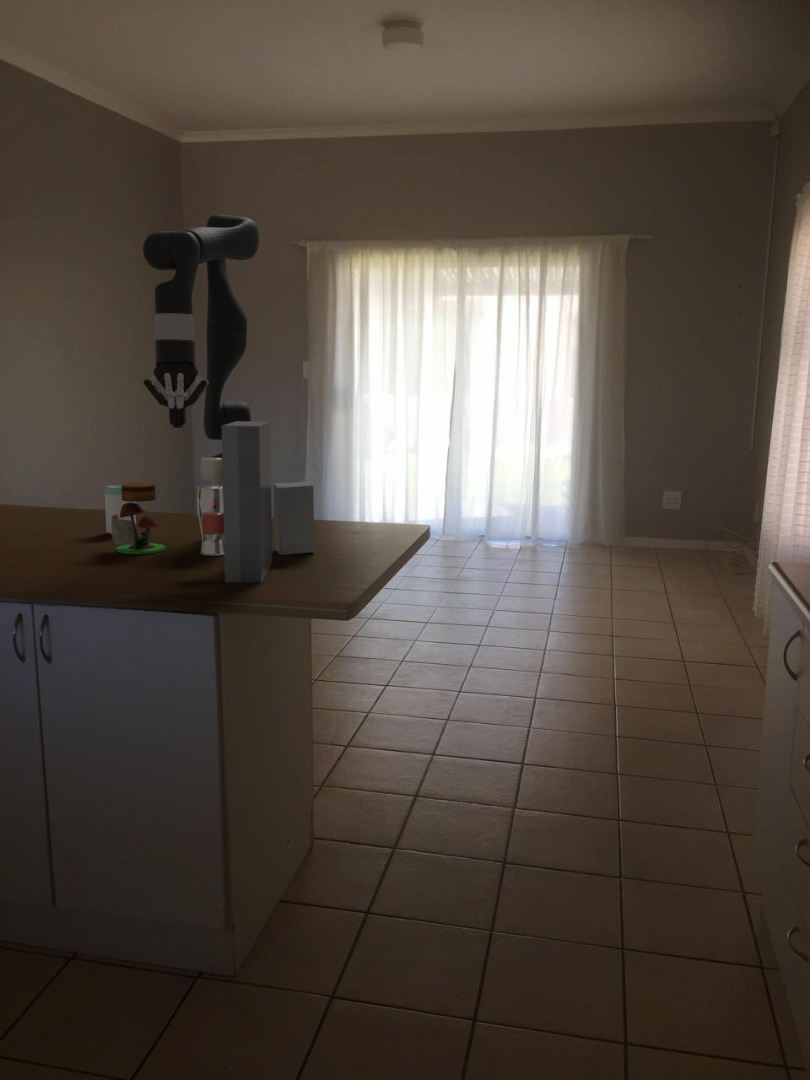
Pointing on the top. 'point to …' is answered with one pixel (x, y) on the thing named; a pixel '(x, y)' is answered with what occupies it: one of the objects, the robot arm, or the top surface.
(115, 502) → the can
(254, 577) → the tall grey block
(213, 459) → the white cylinder
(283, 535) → the skincare box
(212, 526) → the red button
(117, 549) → the mushroom figurine
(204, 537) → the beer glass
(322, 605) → the top surface
